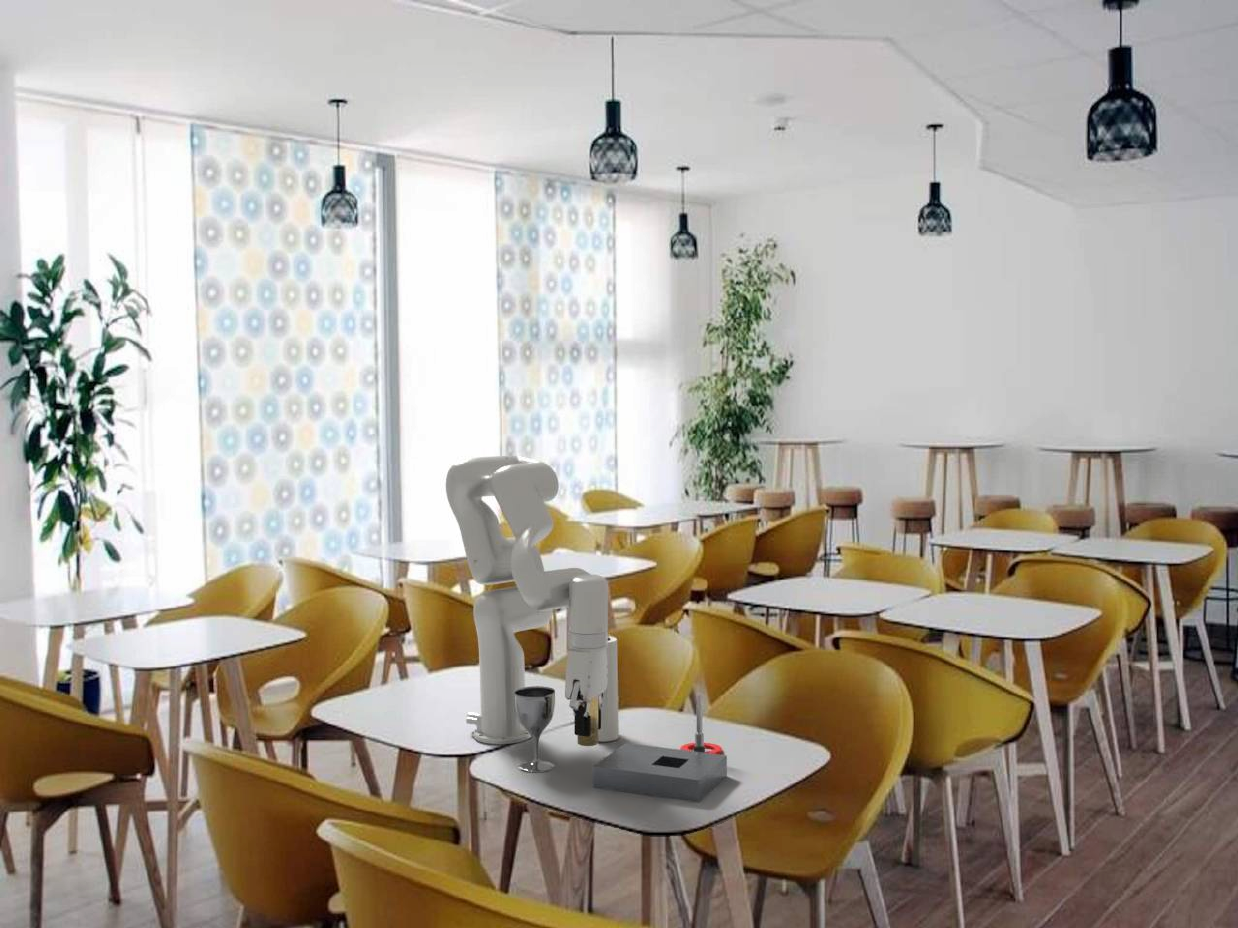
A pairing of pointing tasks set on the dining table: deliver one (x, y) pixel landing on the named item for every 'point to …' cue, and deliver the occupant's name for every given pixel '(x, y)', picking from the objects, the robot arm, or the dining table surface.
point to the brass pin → (593, 713)
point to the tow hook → (701, 736)
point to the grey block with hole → (660, 772)
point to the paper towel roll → (610, 696)
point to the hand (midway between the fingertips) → (587, 730)
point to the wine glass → (535, 719)
